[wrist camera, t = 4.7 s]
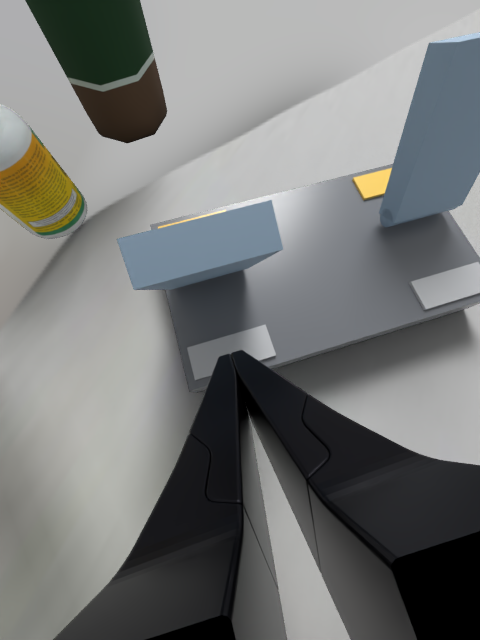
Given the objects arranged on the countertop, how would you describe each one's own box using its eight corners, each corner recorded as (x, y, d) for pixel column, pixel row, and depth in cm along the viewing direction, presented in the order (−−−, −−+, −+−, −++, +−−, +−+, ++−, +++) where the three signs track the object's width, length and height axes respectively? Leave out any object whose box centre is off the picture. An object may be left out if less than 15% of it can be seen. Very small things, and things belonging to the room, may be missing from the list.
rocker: (246, 269, 17) (283, 249, 8) (173, 289, 16) (133, 289, 8) (239, 245, 17) (271, 199, 8) (165, 265, 16) (116, 238, 8)
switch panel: (464, 309, 19) (506, 292, 16) (197, 392, 18) (188, 391, 14) (392, 189, 23) (415, 156, 20) (162, 248, 21) (149, 223, 18)
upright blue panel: (457, 213, 17) (561, 20, 11) (391, 232, 17) (458, 41, 10) (439, 204, 18) (523, 22, 12) (376, 221, 18) (429, 42, 11)
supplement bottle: (14, 229, 22) (-154, 104, 12) (50, 183, 23) (-77, 40, 14) (68, 249, 21) (-67, 134, 12) (101, 200, 22) (4, 64, 13)
